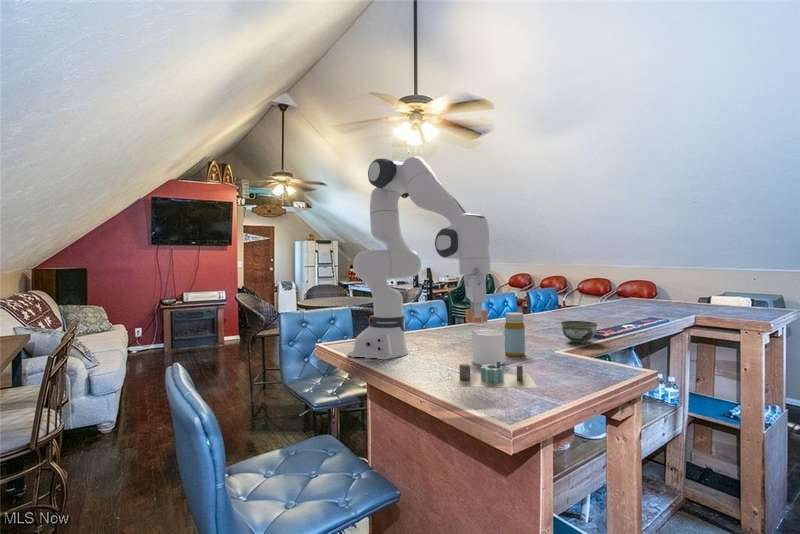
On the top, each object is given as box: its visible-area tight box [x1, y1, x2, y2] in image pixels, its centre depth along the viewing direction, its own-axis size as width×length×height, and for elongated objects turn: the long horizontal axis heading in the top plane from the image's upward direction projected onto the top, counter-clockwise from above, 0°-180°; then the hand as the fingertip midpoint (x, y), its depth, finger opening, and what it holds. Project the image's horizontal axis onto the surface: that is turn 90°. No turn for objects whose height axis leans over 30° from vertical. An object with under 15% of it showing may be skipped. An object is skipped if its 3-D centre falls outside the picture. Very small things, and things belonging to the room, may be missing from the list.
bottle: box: [504, 311, 526, 358], centre depth 140 cm, size 7×7×15 cm
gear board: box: [451, 363, 539, 389], centre depth 108 cm, size 22×12×5 cm, turn 83°
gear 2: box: [480, 361, 505, 383], centre depth 108 cm, size 6×6×5 cm
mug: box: [471, 329, 505, 366], centre depth 129 cm, size 14×10×11 cm
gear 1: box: [464, 308, 488, 324], centre depth 113 cm, size 6×6×4 cm
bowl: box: [560, 320, 598, 344], centre depth 158 cm, size 14×13×8 cm
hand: (476, 316), depth 113 cm, fingers closed on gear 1, 6 cm apart
